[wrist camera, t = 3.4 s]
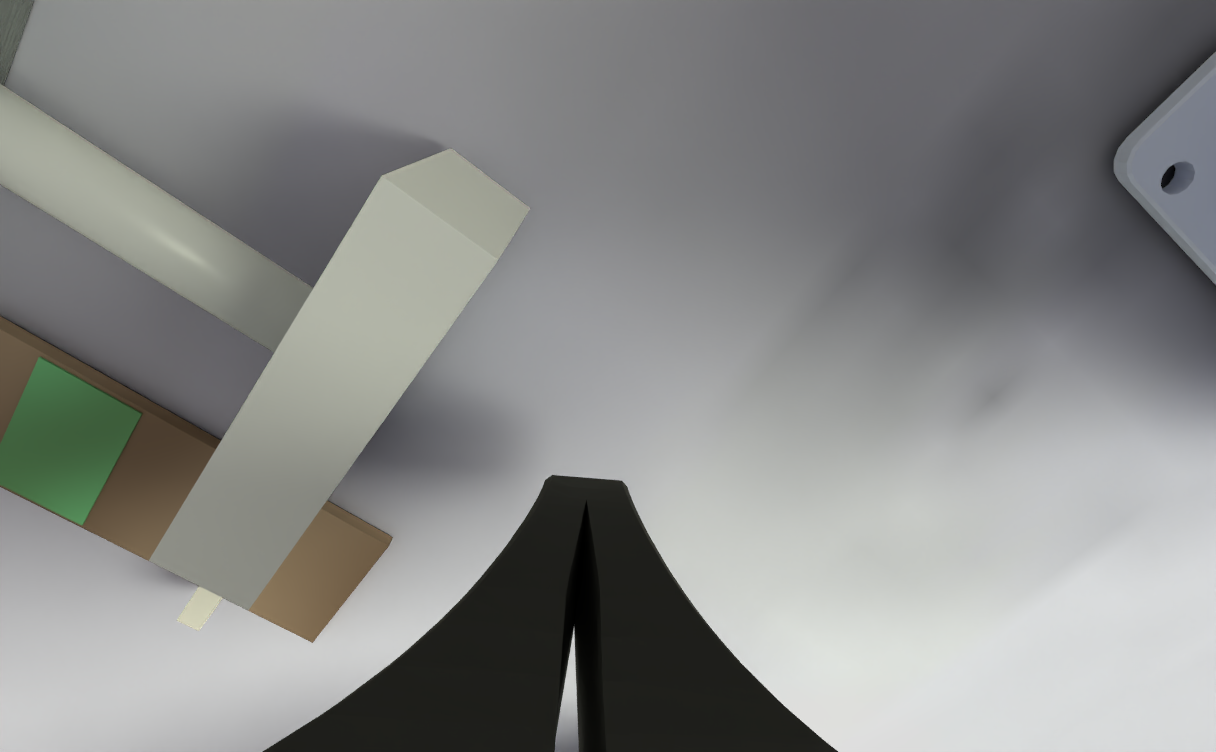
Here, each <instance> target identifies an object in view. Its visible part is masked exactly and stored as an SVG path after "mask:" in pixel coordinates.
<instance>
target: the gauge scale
mask: <svg viewBox="0 0 1216 752" xmlns="http://www.w3.org/2000/svg"><path fill="white" fill-rule="evenodd" d="M220 442H221V440H219V439H217V438H215V437H214V436H212V435H210V434H208V433H207V432H205V431H203V430H201V429H199V428H198V427H196V426H194V425H192V424H191V423H189V422H187V421H185V420H184V419H182V418H180V417H178V416H176V415H175V414H173V413H171V412H169V411H168V410H166V409H164V408H162V407H160V406H159V405H157V404H155V403H153V402H152V401H150V400H148V399H146V398H145V397H143V396H141V395H139V394H137V393H136V392H134V391H132V390H130V389H129V388H127V387H125V386H123V385H121V384H120V383H118V382H116V381H114V380H113V379H111V378H109V377H107V376H106V375H104V374H102V373H100V372H98V371H97V370H95V369H93V368H91V367H90V366H88V365H86V364H84V363H82V362H81V361H79V360H77V359H75V358H74V357H72V356H70V355H68V354H66V353H65V352H63V351H61V350H59V349H58V348H56V347H54V346H52V345H51V344H49V343H47V342H45V341H43V340H42V339H40V338H38V337H36V336H35V335H33V334H31V333H29V332H27V331H26V330H24V329H22V328H20V327H19V326H17V325H15V324H13V323H12V322H10V321H8V320H6V319H4V318H3V317H1V316H0V487H2V488H4V489H6V490H8V491H10V492H12V493H14V494H16V495H18V496H20V497H22V498H24V499H26V500H28V501H30V502H32V503H34V504H36V505H38V506H40V507H42V508H44V509H46V510H48V511H50V512H52V513H54V514H56V515H58V516H60V517H62V518H64V519H66V520H68V521H70V522H72V523H74V524H76V525H78V526H80V527H82V528H84V529H86V530H88V531H90V532H92V533H94V534H96V535H98V536H100V537H102V538H104V539H106V540H108V541H110V542H112V543H114V544H116V545H118V546H120V547H122V548H124V549H126V550H128V551H130V552H132V553H134V554H136V555H138V556H140V557H142V558H144V559H146V560H148V561H149V559H150V558H151V556H152V554H153V553H154V551H155V549H156V548H157V546H158V544H159V543H160V541H161V539H162V538H163V536H164V534H165V533H166V531H167V529H168V528H169V526H170V525H171V523H172V521H173V520H174V518H175V516H176V515H177V513H178V511H179V510H180V508H181V506H182V505H183V503H184V501H185V500H186V498H187V496H188V495H189V493H190V491H191V490H192V488H193V487H194V485H195V483H196V482H197V480H198V478H199V477H200V475H201V473H202V472H203V470H204V468H205V467H206V465H207V463H208V462H209V460H210V458H211V457H212V455H213V453H214V452H215V450H216V448H217V447H218V445H219V444H220ZM392 538H393V537H391V536H389V535H387V534H386V533H384V532H382V531H380V530H379V529H377V528H375V527H373V526H371V525H370V524H368V523H366V522H364V521H363V520H361V519H359V518H357V517H355V516H354V515H352V514H350V513H348V512H347V511H345V510H343V509H341V508H340V507H338V506H336V505H334V504H332V503H331V502H329V501H326V502H325V504H324V505H323V507H322V508H321V509H320V511H319V512H318V514H317V515H316V516H315V518H314V519H313V521H312V522H311V523H310V525H309V526H308V528H307V529H306V530H305V532H304V533H303V535H302V536H301V537H300V539H299V540H298V542H297V543H296V544H295V546H294V547H293V549H292V550H291V551H290V553H289V554H288V556H287V557H286V559H285V560H284V561H283V563H282V564H281V566H280V567H279V568H278V570H277V571H276V573H275V574H274V575H273V577H272V578H271V580H270V581H269V582H268V584H267V585H266V587H265V588H264V589H263V591H262V592H261V594H260V595H259V596H258V598H257V599H256V601H255V602H254V603H253V605H252V606H251V608H250V609H249V610H248V611H250V612H252V613H254V614H256V615H258V616H260V617H262V618H264V619H266V620H268V621H270V622H272V623H274V624H276V625H278V626H280V627H282V628H284V629H286V630H288V631H290V632H292V633H294V634H296V635H298V636H300V637H302V638H304V639H306V640H308V641H310V642H312V643H313V641H314V640H315V639H316V638H317V636H318V635H319V634H320V633H321V631H322V630H323V629H324V628H325V626H326V625H327V624H328V622H329V621H330V620H331V619H332V617H333V616H334V615H335V614H336V612H337V611H338V610H339V608H340V607H341V606H342V605H343V603H344V602H345V601H346V600H347V598H348V597H349V596H350V595H351V593H352V592H353V591H354V589H355V588H356V587H357V586H358V584H359V583H360V582H361V581H362V579H363V578H364V577H365V575H366V574H367V573H368V572H369V570H370V569H371V568H372V567H373V565H374V564H375V563H376V562H377V560H378V559H379V558H380V556H381V555H382V554H383V553H384V551H385V550H386V549H387V548H388V546H389V544H390V542H391V540H392Z"/></svg>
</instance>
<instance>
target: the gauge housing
mask: <svg viewBox="0 0 1216 752" xmlns="http://www.w3.org/2000/svg"><path fill="white" fill-rule="evenodd" d="M33 2H34V0H0V84H2V85H3V86H4V84H5V81H6V78H7V75H8V72H9V70H10V67H11V64H12V61H13V58H14V55H15V53H16V50H17V47H18V44H19V41H20V39H21V36H22V33H23V30H24V27H25V24H26V22H27V19H28V16H29V13H30V10H31V7H32V5H33Z"/></svg>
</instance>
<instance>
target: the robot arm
mask: <svg viewBox="0 0 1216 752" xmlns="http://www.w3.org/2000/svg"><path fill="white" fill-rule="evenodd" d="M1172 165H1174V166H1175V168H1176V170H1175V174H1174V178H1173V179H1172V180H1171V182H1170V183H1169V184H1168V185H1167V186H1166V187H1164V188H1162V187H1161V181H1162V176H1163V175H1164V173H1165V172H1166V170H1167V169H1168V168H1169V167H1171V166H1172ZM1114 173H1115V175H1116V177H1117V179H1118V181H1119V182H1120V183H1121V184H1122V185H1123V186H1124V187H1125V188H1126V190H1127V191H1128V192H1129V193H1130V194H1131V195H1132V196H1133V197H1134V198H1135V199H1136V200H1137V201H1138V202H1139V203H1140V205H1141V206H1142V207H1143V208H1144V209H1145V210H1146V211H1147V212H1148V213H1149V214H1150V215H1151V216H1152V217H1153V218H1154V220H1155V221H1156V222H1157V223H1158V224H1159V225H1160V226H1161V227H1162V228H1163V229H1164V230H1165V231H1166V232H1167V233H1168V235H1169V236H1170V237H1171V238H1172V239H1173V240H1174V241H1175V242H1176V243H1177V244H1178V245H1179V246H1180V247H1181V248H1182V250H1183V251H1184V252H1185V253H1186V254H1187V255H1188V256H1189V257H1190V258H1191V259H1192V260H1193V261H1194V262H1195V263H1196V265H1197V266H1198V267H1199V268H1200V269H1201V270H1202V271H1203V272H1204V273H1205V274H1206V275H1207V276H1208V277H1209V278H1210V280H1211V281H1212V282H1213V283H1214V284H1215V285H1216V52H1215V53H1214V54H1213V55H1212V56H1211V57H1210V58H1209V59H1207V60H1206V61H1205V62H1204V63H1203V64H1202V65H1201V66H1200V67H1199V68H1198V69H1197V70H1196V71H1195V72H1194V73H1193V74H1192V75H1191V76H1190V77H1189V78H1188V79H1187V80H1186V81H1185V82H1184V83H1183V84H1182V85H1181V86H1179V87H1178V88H1177V89H1176V90H1175V91H1174V92H1173V93H1172V94H1171V95H1170V96H1169V97H1168V98H1167V99H1166V100H1165V101H1164V102H1163V103H1162V104H1161V105H1160V106H1159V107H1158V108H1157V109H1156V110H1155V111H1154V112H1153V113H1152V114H1150V115H1149V116H1148V117H1147V118H1146V119H1145V120H1144V121H1143V122H1142V123H1141V124H1140V125H1139V126H1138V127H1137V128H1136V129H1135V130H1134V131H1133V132H1132V133H1131V134H1130V135H1129V136H1128V137H1127V138H1126V139H1125V140H1124V142H1123V143H1122V144H1121V145H1120V147H1119V148H1118V150H1117V153H1116V156H1115V158H1114ZM574 628H575V657H576V684H577V711H578V738H579V752H838V751H837V750H835V749H834V748H833V747H831V746H830V745H829V744H828V743H826V742H825V741H824V740H823V739H822V738H820V737H819V736H818V735H817V734H816V733H815V732H813V731H812V730H811V729H810V728H809V727H808V726H807V725H805V724H804V723H803V722H802V721H801V720H800V719H798V718H797V717H796V716H795V715H794V714H793V713H792V712H790V711H789V710H788V709H787V708H786V707H785V706H784V705H783V704H782V703H781V702H780V701H778V700H777V699H776V698H775V697H774V696H773V695H772V694H771V693H770V692H769V691H768V690H767V689H766V688H765V687H764V686H763V685H762V684H761V683H760V682H759V681H758V680H757V679H756V678H755V677H754V676H753V675H752V674H751V673H750V672H749V671H748V670H747V669H746V668H745V667H744V666H743V665H742V664H741V663H740V661H739V660H738V659H737V658H736V657H735V656H734V655H733V654H732V652H731V651H730V650H729V649H728V648H727V647H726V646H725V644H724V643H723V642H722V641H721V640H720V639H719V637H718V636H717V635H716V634H715V632H714V631H713V630H712V629H711V628H710V626H709V625H708V624H707V623H706V621H705V620H704V619H703V618H702V616H701V615H700V614H699V612H698V611H697V610H696V608H695V607H694V606H693V604H692V603H691V601H690V600H689V599H688V597H687V596H686V594H685V593H684V591H683V590H682V588H681V587H680V586H679V584H678V583H677V581H676V580H675V578H674V577H673V575H672V573H671V572H670V570H669V569H668V567H667V566H666V564H665V562H664V561H663V559H662V557H661V555H660V554H659V552H658V550H657V549H656V547H655V545H654V543H653V542H652V540H651V538H650V536H649V534H648V533H647V531H646V529H645V527H644V525H643V523H642V521H641V519H640V517H639V515H638V513H637V510H636V508H635V506H634V504H633V501H632V499H631V496H630V494H629V491H628V488H627V486H626V485H625V484H624V483H623V482H622V481H619V480H606V479H593V478H581V477H568V476H556V475H552V476H550V477H549V478H548V479H546V480H545V482H544V485H543V488H542V490H541V492H540V494H539V496H538V498H537V500H536V501H535V503H534V505H533V507H532V508H531V510H530V512H529V513H528V515H527V516H526V518H525V520H524V521H523V523H522V524H521V525H520V527H519V528H518V530H517V531H516V533H515V534H514V536H513V537H512V538H511V540H510V541H509V543H508V544H507V545H506V547H505V548H504V549H503V551H502V552H501V553H500V555H499V556H498V557H497V558H496V559H495V561H494V562H493V563H492V564H491V566H490V567H489V568H488V569H487V571H486V572H485V573H484V574H483V575H482V577H481V578H480V579H479V580H478V581H477V582H476V584H475V585H474V586H473V587H472V588H471V589H470V590H469V591H468V592H467V594H466V595H465V596H464V597H463V598H462V599H461V600H460V601H459V602H458V603H457V604H456V605H455V606H454V607H453V608H452V609H451V610H450V611H449V612H448V613H447V614H446V615H445V616H444V617H443V618H442V619H441V620H440V621H439V622H438V623H437V624H436V625H435V626H433V627H432V628H431V629H430V630H429V631H428V632H427V633H426V634H425V635H424V636H422V637H421V638H420V639H419V640H418V641H417V642H416V643H415V644H414V645H412V646H411V647H410V648H409V649H408V650H407V651H405V652H404V653H403V654H402V655H401V656H400V657H398V658H397V659H396V660H395V661H393V662H392V663H391V664H390V665H389V666H387V667H386V668H385V669H383V670H382V671H381V672H379V673H378V674H377V675H375V676H374V677H373V678H371V679H370V680H369V681H367V682H366V683H365V684H363V685H362V686H361V687H359V688H358V689H357V690H355V691H354V692H353V693H351V694H350V695H349V696H347V697H346V698H345V699H343V700H342V701H341V702H339V703H338V704H336V705H335V706H333V707H332V708H331V709H329V710H328V711H326V712H325V713H323V714H322V715H320V716H319V717H317V718H315V719H314V720H312V721H311V722H309V723H308V724H306V725H304V726H303V727H301V728H300V729H298V730H296V731H295V732H293V733H292V734H290V735H289V736H287V737H285V738H284V739H282V740H281V741H279V742H277V743H276V744H274V745H273V746H271V747H269V748H268V749H266V750H265V751H263V752H554V751H555V737H556V731H557V725H558V719H559V713H560V707H561V701H562V695H563V689H564V683H565V677H566V671H567V665H568V659H569V653H570V647H571V641H572V635H573V629H574Z"/></svg>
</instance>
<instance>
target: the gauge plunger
mask: <svg viewBox="0 0 1216 752" xmlns="http://www.w3.org/2000/svg"><path fill="white" fill-rule="evenodd" d="M0 185H2V186H4V187H5V188H7V189H8V190H10V191H12V192H13V193H15V194H17V195H18V196H20V197H21V198H23V199H25V200H26V201H28V202H30V203H31V204H33V205H34V206H36V207H38V208H39V209H41V210H43V211H44V212H46V213H47V214H49V215H51V216H52V217H54V218H56V219H57V220H59V221H61V222H62V223H64V224H65V225H67V226H69V227H70V228H72V229H74V230H75V231H77V232H78V233H80V234H82V235H83V236H85V237H87V238H88V239H90V240H91V241H93V242H95V243H96V244H98V245H100V246H101V247H103V248H104V249H106V250H108V251H109V252H111V253H113V254H114V255H116V256H118V257H119V258H121V259H122V260H124V261H126V262H127V263H129V264H131V265H132V266H134V267H135V268H137V269H139V270H140V271H142V272H144V273H145V274H147V275H148V276H150V277H152V278H153V279H155V280H157V281H158V282H160V283H161V284H163V285H165V286H166V287H168V288H170V289H171V290H173V291H174V292H176V293H178V294H179V295H181V296H183V297H184V298H186V299H188V300H189V301H191V302H192V303H194V304H196V305H197V306H199V307H201V308H202V309H204V310H205V311H207V312H209V313H210V314H212V315H214V316H215V317H217V318H218V319H220V320H222V321H223V322H225V323H227V324H228V325H230V326H231V327H233V328H235V329H236V330H238V331H240V332H241V333H243V334H245V335H246V336H248V337H249V338H251V339H253V340H254V341H256V342H258V343H259V344H261V345H262V346H264V347H266V348H267V349H269V350H271V351H272V352H274V354H273V356H272V358H271V359H270V361H269V363H268V364H267V366H266V367H265V369H264V371H263V372H262V374H261V376H260V377H259V379H258V381H257V382H256V384H255V386H254V387H253V389H252V391H251V392H250V394H249V396H248V397H247V399H246V401H245V402H244V404H243V406H242V407H241V409H240V410H239V412H238V414H237V415H236V417H235V419H234V420H233V422H232V424H231V425H230V427H229V429H228V430H227V432H226V434H225V435H224V437H223V439H222V440H221V442H220V444H219V445H218V447H217V448H216V450H215V452H214V453H213V455H212V457H211V458H210V460H209V462H208V463H207V465H206V467H205V468H204V470H203V472H202V473H201V475H200V477H199V478H198V480H197V482H196V483H195V485H194V487H193V488H192V490H191V491H190V493H189V495H188V496H187V498H186V500H185V501H184V503H183V505H182V506H181V508H180V510H179V511H178V513H177V515H176V516H175V518H174V520H173V521H172V523H171V525H170V526H169V528H168V529H167V531H166V533H165V534H164V536H163V538H162V539H161V541H160V543H159V544H158V546H157V548H156V549H155V551H154V553H153V554H152V556H151V558H150V559H149V561H150V562H152V563H154V564H156V565H158V566H160V567H162V568H164V569H166V570H168V571H170V572H172V573H174V574H176V575H178V576H180V577H182V578H184V579H186V580H188V581H190V582H192V583H194V584H196V585H198V586H199V587H198V589H197V590H196V592H195V593H194V595H193V596H192V598H191V599H190V601H189V602H188V604H187V605H186V607H185V608H184V610H183V611H182V613H181V615H180V616H179V618H178V619H177V621H179V622H181V623H183V624H185V625H187V626H189V627H191V628H193V629H195V630H197V631H199V630H200V629H201V627H202V626H203V625H204V623H205V622H206V621H207V619H208V618H209V617H210V615H211V614H212V613H213V611H214V610H215V609H216V607H217V606H218V604H219V603H220V601H221V600H222V598H224V599H226V600H228V601H230V602H232V603H234V604H236V605H238V606H240V607H242V608H244V609H246V610H249V609H250V608H251V606H252V605H253V603H254V602H255V601H256V599H257V598H258V596H259V595H260V594H261V592H262V591H263V589H264V588H265V587H266V585H267V584H268V582H269V581H270V580H271V578H272V577H273V575H274V574H275V573H276V571H277V570H278V568H279V567H280V566H281V564H282V563H283V561H284V560H285V559H286V557H287V556H288V554H289V553H290V551H291V550H292V549H293V547H294V546H295V544H296V543H297V542H298V540H299V539H300V537H301V536H302V535H303V533H304V532H305V530H306V529H307V528H308V526H309V525H310V523H311V522H312V521H313V519H314V518H315V516H316V515H317V514H318V512H319V511H320V509H321V508H322V507H323V505H324V504H325V502H326V501H327V500H328V498H329V497H330V495H331V494H332V493H333V491H334V490H335V488H336V487H337V486H338V484H339V483H340V481H341V480H342V479H343V477H344V476H345V474H346V473H347V472H348V470H349V469H350V467H351V466H352V465H353V463H354V462H355V460H356V459H357V458H358V456H359V455H360V453H361V452H362V451H363V449H364V448H365V446H366V445H367V444H368V442H369V441H370V439H371V438H372V437H373V435H374V434H375V432H376V431H377V429H378V428H379V427H380V425H381V424H382V422H383V421H384V420H385V418H386V417H387V415H388V414H389V413H390V411H391V410H392V408H393V407H394V406H395V404H396V403H397V401H398V400H399V399H400V397H401V396H402V394H403V393H404V392H405V390H406V389H407V387H408V386H409V385H410V383H411V382H412V380H413V379H414V378H415V376H416V375H417V373H418V372H419V371H420V369H421V368H422V366H423V365H424V364H425V362H426V361H427V359H428V358H429V357H430V355H431V354H432V352H433V351H434V350H435V348H436V347H437V345H438V344H439V343H440V341H441V340H442V338H443V337H444V336H445V334H446V333H447V331H448V330H449V329H450V327H451V326H452V324H453V323H454V322H455V320H456V319H457V317H458V316H459V315H460V313H461V312H462V310H463V309H464V307H465V306H466V305H467V303H468V302H469V300H470V299H471V298H472V296H473V295H474V293H475V292H476V291H477V289H478V288H479V286H480V285H481V284H482V282H483V281H484V279H485V278H486V277H487V275H488V274H489V272H490V271H491V270H492V268H493V267H494V265H495V264H496V263H497V261H498V260H499V258H500V257H501V255H502V253H503V252H504V250H505V249H506V247H507V245H508V244H509V242H510V241H511V239H512V237H513V236H514V234H515V233H516V231H517V229H518V228H519V226H520V225H521V223H522V221H523V220H524V218H525V217H526V215H527V213H528V212H529V210H530V209H531V208H529V207H528V206H527V205H525V204H524V203H523V202H521V201H520V200H519V199H518V198H516V197H515V196H514V195H512V194H511V193H510V192H508V191H507V190H506V189H504V188H503V187H502V186H500V185H499V184H498V183H496V182H495V181H494V180H492V179H491V178H490V177H489V176H487V175H486V174H485V173H483V172H482V171H481V170H479V169H478V168H477V167H475V166H474V165H473V164H471V163H470V162H469V161H467V160H466V159H465V158H463V157H462V156H461V155H459V154H458V153H457V152H456V151H454V150H453V149H452V148H450V149H448V150H445V151H443V152H440V153H437V154H435V155H432V156H430V157H427V158H425V159H422V160H420V161H417V162H415V163H412V164H410V165H407V166H405V167H402V168H400V169H397V170H395V171H392V172H389V173H387V174H384V175H382V176H381V177H380V179H379V181H378V182H377V184H376V186H375V187H374V189H373V191H372V192H371V194H370V196H369V197H368V199H367V201H366V202H365V204H364V205H363V207H362V209H361V210H360V212H359V214H358V215H357V217H356V219H355V220H354V222H353V224H352V225H351V227H350V229H349V230H348V232H347V234H346V235H345V237H344V239H343V240H342V242H341V244H340V245H339V247H338V248H337V250H336V252H335V253H334V255H333V257H332V258H331V260H330V262H329V263H328V265H327V267H326V268H325V270H324V272H323V273H322V275H321V277H320V278H319V280H318V282H317V283H316V285H315V286H314V288H313V287H311V286H310V285H308V284H306V283H305V282H303V281H302V280H300V279H299V278H297V277H296V276H294V275H293V274H291V273H290V272H288V271H287V270H285V269H283V268H282V267H280V266H279V265H277V264H276V263H274V262H273V261H271V260H270V259H268V258H267V257H265V256H264V255H262V254H261V253H259V252H257V251H256V250H254V249H253V248H251V247H250V246H248V245H247V244H245V243H244V242H242V241H241V240H239V239H238V238H236V237H234V236H233V235H231V234H230V233H228V232H227V231H225V230H224V229H222V228H221V227H219V226H218V225H216V224H215V223H213V222H211V221H210V220H208V219H207V218H205V217H204V216H202V215H201V214H199V213H198V212H196V211H195V210H193V209H192V208H190V207H188V206H187V205H185V204H184V203H182V202H181V201H179V200H178V199H176V198H175V197H173V196H172V195H170V194H169V193H167V192H166V191H164V190H162V189H161V188H159V187H158V186H156V185H155V184H153V183H152V182H150V181H149V180H147V179H146V178H144V177H143V176H141V175H139V174H138V173H136V172H135V171H133V170H132V169H130V168H129V167H127V166H126V165H124V164H123V163H121V162H120V161H118V160H116V159H115V158H113V157H112V156H110V155H109V154H107V153H106V152H104V151H103V150H101V149H100V148H98V147H97V146H95V145H93V144H92V143H90V142H89V141H87V140H86V139H84V138H83V137H81V136H80V135H78V134H77V133H75V132H74V131H72V130H70V129H69V128H67V127H66V126H64V125H63V124H61V123H60V122H58V121H57V120H55V119H54V118H52V117H51V116H49V115H48V114H46V113H44V112H43V111H41V110H40V109H38V108H37V107H35V106H34V105H32V104H31V103H29V102H28V101H26V100H25V99H23V98H21V97H20V96H18V95H17V94H15V93H14V92H12V91H11V90H9V89H8V88H6V87H5V86H3V85H2V84H0Z"/></svg>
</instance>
